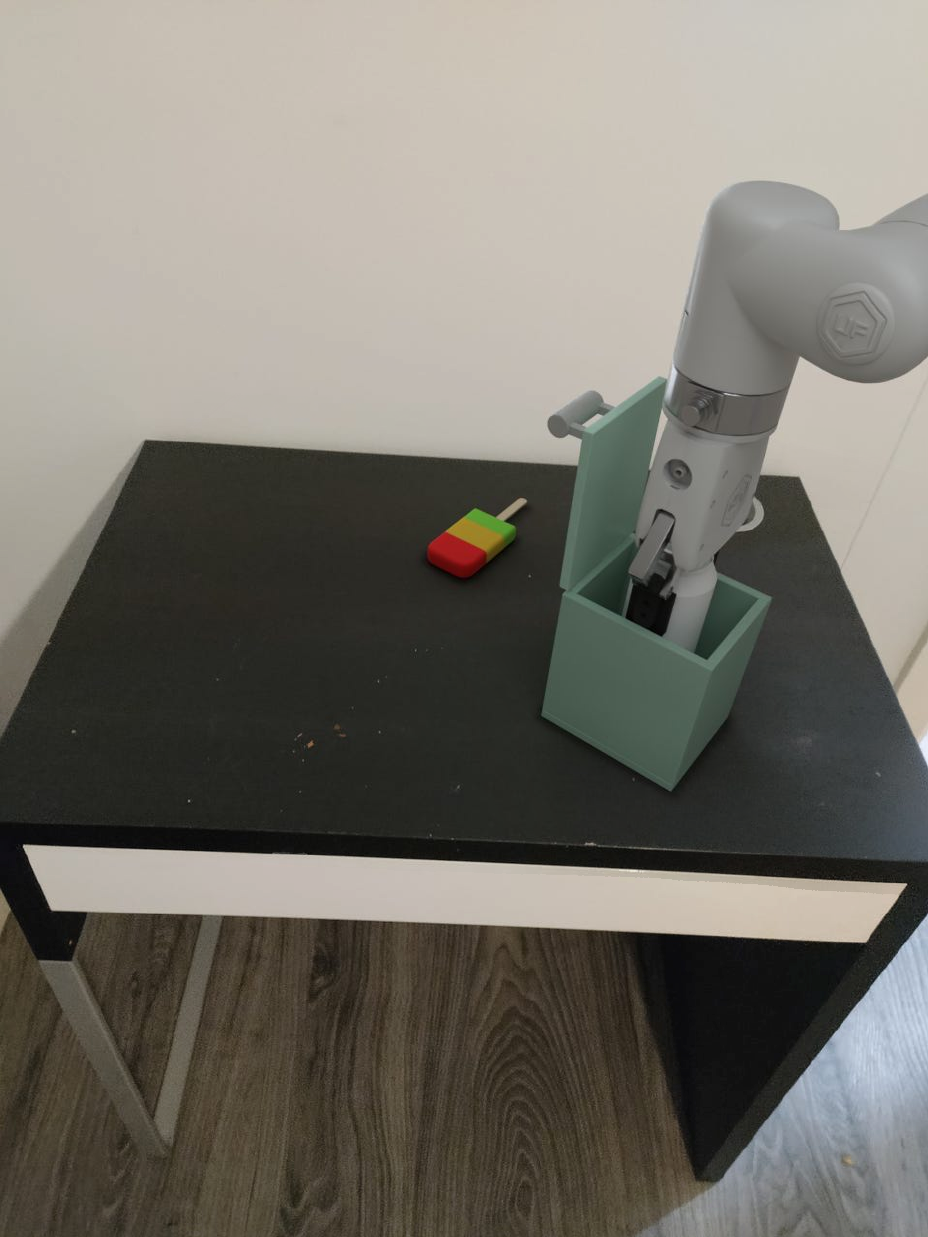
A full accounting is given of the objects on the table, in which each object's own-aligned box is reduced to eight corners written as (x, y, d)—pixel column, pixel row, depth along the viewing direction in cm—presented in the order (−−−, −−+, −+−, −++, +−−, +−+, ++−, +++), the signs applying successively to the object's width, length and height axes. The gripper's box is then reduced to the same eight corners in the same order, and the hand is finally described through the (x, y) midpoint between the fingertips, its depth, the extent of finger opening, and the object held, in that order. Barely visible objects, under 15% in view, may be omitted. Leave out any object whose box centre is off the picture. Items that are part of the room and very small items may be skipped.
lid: (668, 378, 68) (607, 356, 70) (593, 434, 61) (528, 407, 64) (636, 529, 77) (583, 505, 79) (567, 591, 70) (511, 563, 72)
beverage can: (690, 650, 78) (726, 536, 70) (683, 701, 74) (719, 585, 66) (617, 633, 79) (644, 518, 71) (605, 683, 75) (632, 566, 67)
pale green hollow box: (727, 717, 81) (772, 597, 72) (670, 792, 75) (712, 671, 65) (604, 651, 86) (631, 531, 77) (540, 715, 80) (562, 593, 71)
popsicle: (421, 561, 95) (422, 546, 93) (502, 497, 104) (504, 483, 103) (466, 583, 92) (467, 568, 91) (544, 516, 102) (546, 502, 101)
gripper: (718, 469, 53) (656, 688, 65) (829, 367, 64) (758, 571, 76) (605, 423, 56) (566, 640, 68) (729, 333, 67) (676, 534, 79)
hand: (667, 602), depth 72 cm, fingers closed on beverage can, 6 cm apart
